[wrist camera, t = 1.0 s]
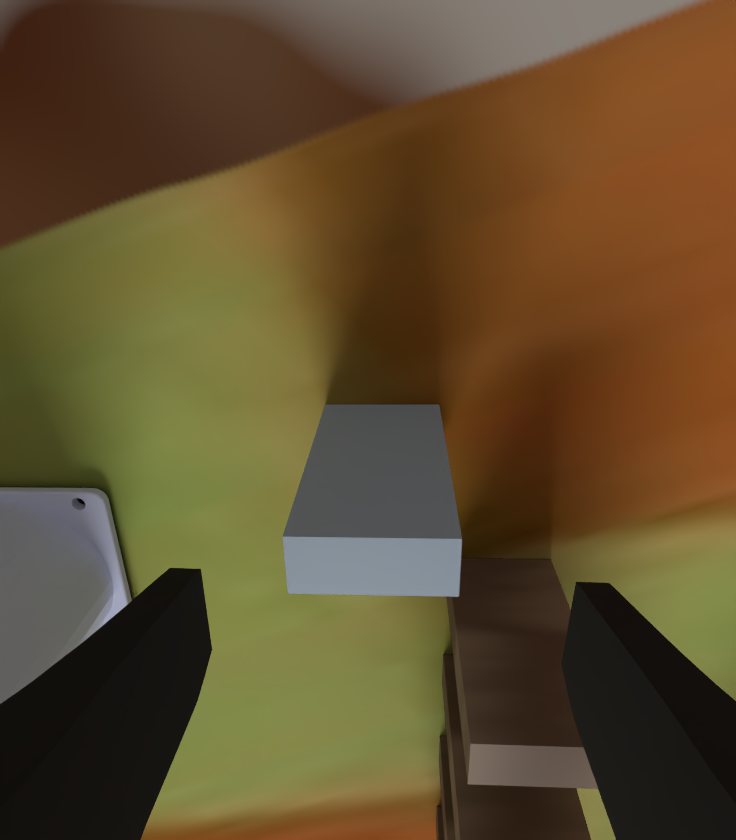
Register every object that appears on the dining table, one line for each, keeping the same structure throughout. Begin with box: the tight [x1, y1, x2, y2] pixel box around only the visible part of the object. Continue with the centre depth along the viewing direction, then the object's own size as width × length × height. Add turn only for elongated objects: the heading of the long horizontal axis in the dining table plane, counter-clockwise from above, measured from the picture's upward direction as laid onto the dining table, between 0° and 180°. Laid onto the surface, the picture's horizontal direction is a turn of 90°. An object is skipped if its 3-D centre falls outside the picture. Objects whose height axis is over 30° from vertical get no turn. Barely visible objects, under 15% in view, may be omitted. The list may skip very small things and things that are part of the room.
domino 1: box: [283, 404, 462, 597], centre depth 17 cm, size 4×2×8 cm, turn 91°
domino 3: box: [442, 654, 591, 840], centre depth 21 cm, size 4×2×8 cm, turn 91°
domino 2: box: [447, 558, 598, 789], centre depth 19 cm, size 4×2×8 cm, turn 91°
